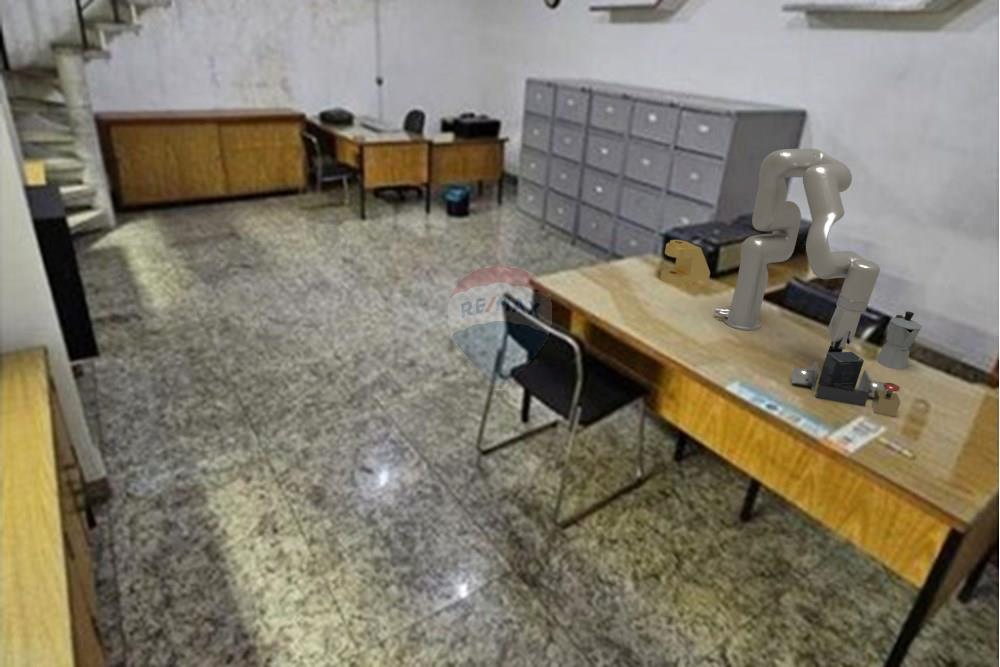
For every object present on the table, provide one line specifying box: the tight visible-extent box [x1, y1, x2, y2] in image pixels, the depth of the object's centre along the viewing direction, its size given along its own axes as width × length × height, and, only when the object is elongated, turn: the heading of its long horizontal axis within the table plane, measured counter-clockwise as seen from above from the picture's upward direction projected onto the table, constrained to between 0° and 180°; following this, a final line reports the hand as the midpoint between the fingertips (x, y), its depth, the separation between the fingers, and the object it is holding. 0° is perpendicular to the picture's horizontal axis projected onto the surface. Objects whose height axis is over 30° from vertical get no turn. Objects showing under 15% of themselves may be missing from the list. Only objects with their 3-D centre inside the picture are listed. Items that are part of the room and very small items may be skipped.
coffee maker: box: [875, 311, 923, 371], centre depth 195 cm, size 15×9×18 cm, turn 163°
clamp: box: [659, 239, 711, 285], centre depth 256 cm, size 20×9×16 cm, turn 116°
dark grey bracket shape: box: [790, 361, 888, 407], centre depth 178 cm, size 24×10×6 cm, turn 73°
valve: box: [870, 382, 902, 418], centre depth 171 cm, size 5×5×8 cm
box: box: [817, 351, 865, 390], centre depth 180 cm, size 8×6×11 cm
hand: (832, 359), depth 188 cm, fingers closed
